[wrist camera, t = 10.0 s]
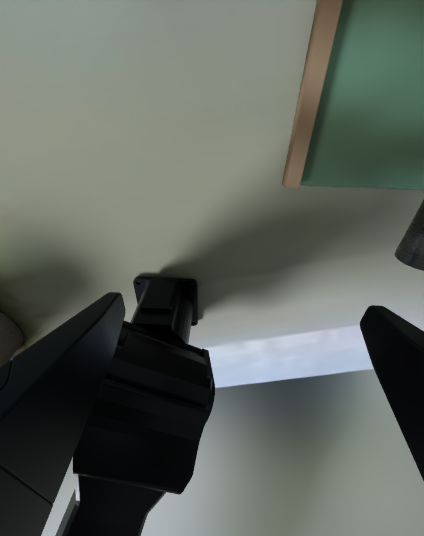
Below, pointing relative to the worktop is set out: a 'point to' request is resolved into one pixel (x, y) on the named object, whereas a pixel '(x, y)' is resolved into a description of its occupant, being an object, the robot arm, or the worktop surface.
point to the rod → (413, 242)
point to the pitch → (361, 98)
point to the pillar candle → (9, 338)
